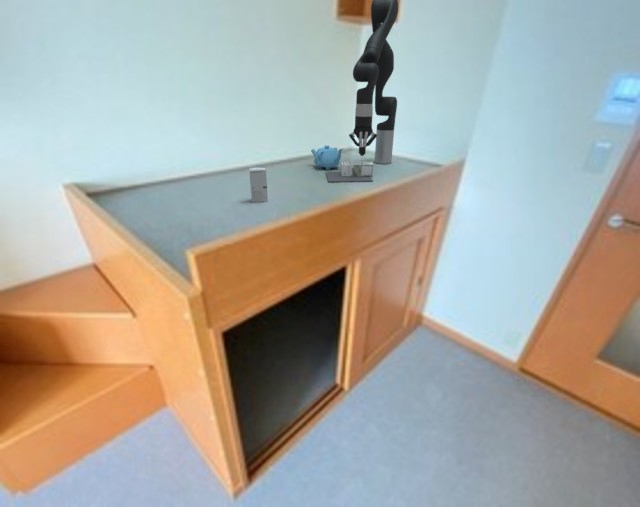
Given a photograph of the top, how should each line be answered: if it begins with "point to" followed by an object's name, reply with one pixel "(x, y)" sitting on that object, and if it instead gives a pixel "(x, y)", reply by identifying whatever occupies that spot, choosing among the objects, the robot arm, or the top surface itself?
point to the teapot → (326, 157)
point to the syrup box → (357, 169)
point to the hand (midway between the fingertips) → (361, 155)
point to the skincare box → (258, 184)
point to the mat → (346, 178)
